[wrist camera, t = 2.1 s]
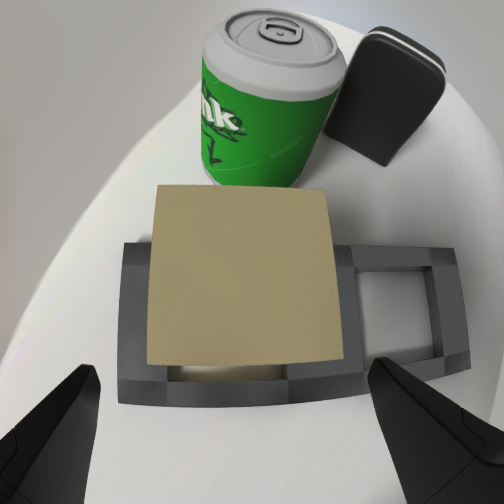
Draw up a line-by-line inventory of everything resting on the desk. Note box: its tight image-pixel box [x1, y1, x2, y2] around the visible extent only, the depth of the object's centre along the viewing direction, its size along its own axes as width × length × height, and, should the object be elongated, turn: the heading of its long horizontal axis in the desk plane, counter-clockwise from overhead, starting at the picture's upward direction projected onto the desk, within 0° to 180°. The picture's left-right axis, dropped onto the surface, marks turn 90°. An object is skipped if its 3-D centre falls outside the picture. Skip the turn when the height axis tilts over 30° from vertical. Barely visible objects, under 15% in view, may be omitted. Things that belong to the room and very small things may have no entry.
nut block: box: [147, 185, 344, 366], centre depth 14 cm, size 5×5×12 cm
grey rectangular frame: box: [117, 243, 471, 408], centre depth 20 cm, size 10×25×1 cm, turn 92°
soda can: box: [201, 8, 347, 188], centre depth 18 cm, size 8×8×12 cm
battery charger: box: [323, 26, 447, 166], centre depth 21 cm, size 7×4×11 cm, turn 61°
